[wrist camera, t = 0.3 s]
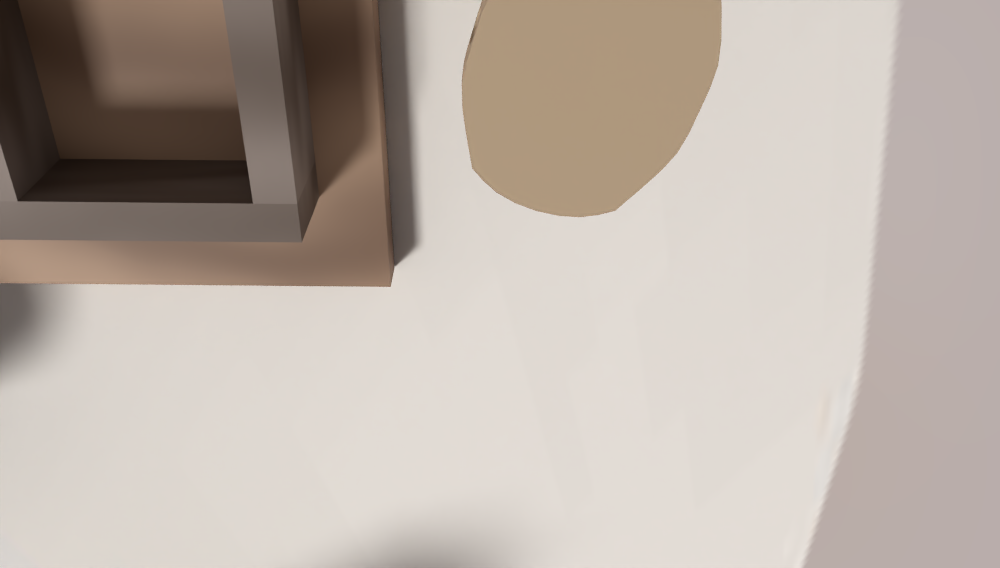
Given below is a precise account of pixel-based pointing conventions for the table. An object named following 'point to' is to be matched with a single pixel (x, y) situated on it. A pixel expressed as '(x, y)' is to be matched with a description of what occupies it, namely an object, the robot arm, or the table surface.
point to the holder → (193, 143)
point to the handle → (584, 96)
